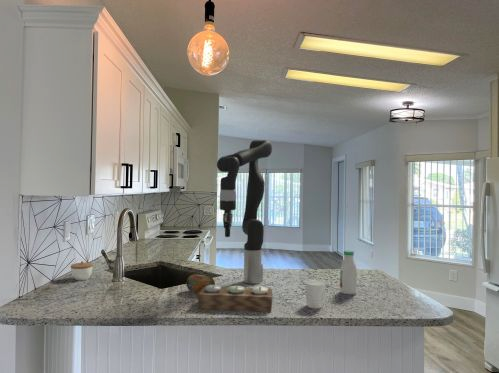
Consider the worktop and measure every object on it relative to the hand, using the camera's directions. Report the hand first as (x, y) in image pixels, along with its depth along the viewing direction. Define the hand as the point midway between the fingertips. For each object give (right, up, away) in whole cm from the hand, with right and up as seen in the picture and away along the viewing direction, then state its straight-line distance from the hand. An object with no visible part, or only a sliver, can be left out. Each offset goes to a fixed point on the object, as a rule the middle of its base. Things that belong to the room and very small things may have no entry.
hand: (227, 236), depth 171 cm
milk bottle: (+58, -28, +5) cm, 64 cm away
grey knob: (-5, -25, -14) cm, 29 cm away
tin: (-13, -27, +3) cm, 30 cm away
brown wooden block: (+5, -27, -15) cm, 31 cm away
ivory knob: (+15, -25, -16) cm, 33 cm away
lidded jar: (-80, -26, +25) cm, 88 cm away
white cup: (+38, -28, -15) cm, 49 cm away
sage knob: (+5, -25, -15) cm, 29 cm away
